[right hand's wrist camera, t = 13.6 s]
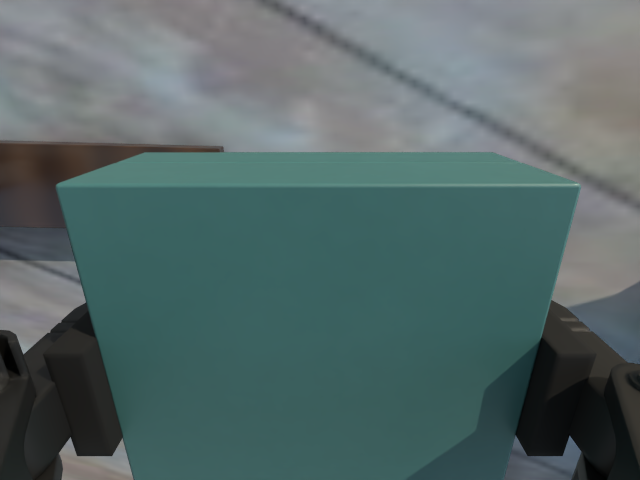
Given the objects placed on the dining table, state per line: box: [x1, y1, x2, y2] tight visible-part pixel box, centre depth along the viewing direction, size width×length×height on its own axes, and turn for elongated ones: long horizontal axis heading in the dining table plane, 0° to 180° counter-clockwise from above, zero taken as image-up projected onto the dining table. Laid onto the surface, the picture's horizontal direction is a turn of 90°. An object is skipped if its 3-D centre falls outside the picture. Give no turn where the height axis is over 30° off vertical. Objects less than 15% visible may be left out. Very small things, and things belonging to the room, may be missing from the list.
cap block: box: [56, 152, 581, 480], centre depth 10 cm, size 9×9×4 cm
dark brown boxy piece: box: [0, 141, 224, 228], centre depth 30 cm, size 30×8×13 cm, turn 89°
